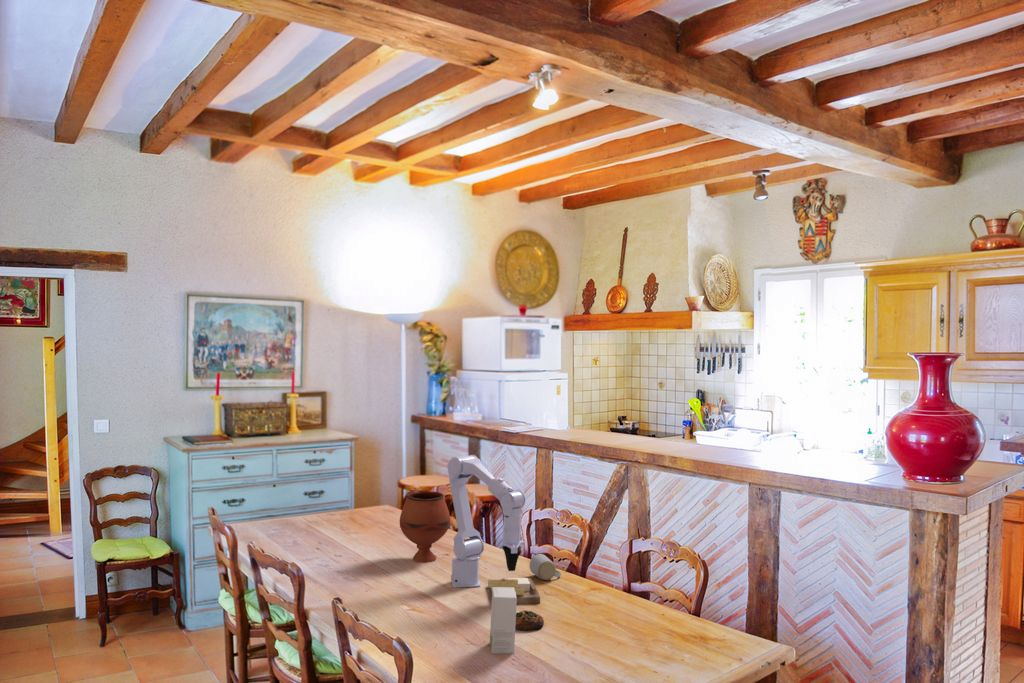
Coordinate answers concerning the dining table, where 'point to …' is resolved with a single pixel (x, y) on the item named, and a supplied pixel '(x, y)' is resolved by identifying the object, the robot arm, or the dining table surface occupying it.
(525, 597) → the board
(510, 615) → the skincare box
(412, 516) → the goblet
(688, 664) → the dining table surface
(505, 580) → the brass T-key
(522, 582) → the cream cover
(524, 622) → the bread roll
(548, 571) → the ceramic mug
